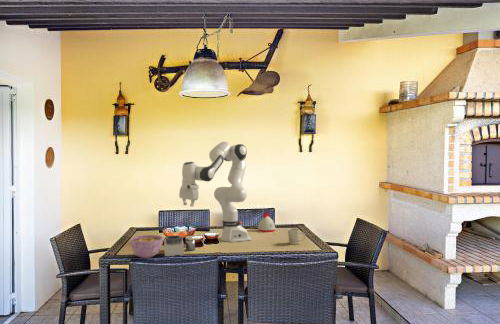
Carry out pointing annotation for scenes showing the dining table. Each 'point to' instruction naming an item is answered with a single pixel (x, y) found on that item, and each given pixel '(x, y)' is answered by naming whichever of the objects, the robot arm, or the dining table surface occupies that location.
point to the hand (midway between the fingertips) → (188, 205)
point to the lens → (190, 243)
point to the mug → (294, 235)
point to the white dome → (266, 224)
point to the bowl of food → (146, 245)
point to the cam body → (173, 245)
